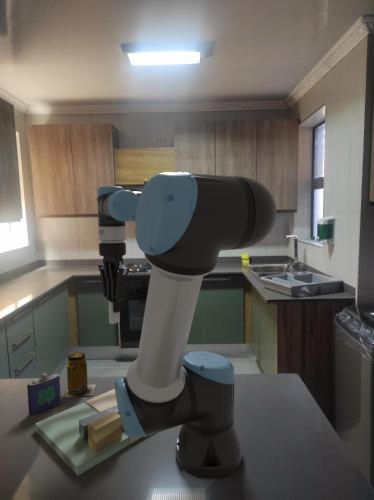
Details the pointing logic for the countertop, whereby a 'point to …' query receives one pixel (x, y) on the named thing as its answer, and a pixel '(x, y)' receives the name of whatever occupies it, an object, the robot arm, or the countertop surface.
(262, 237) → the robot arm
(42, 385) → the flask
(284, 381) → the countertop surface
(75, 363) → the condiment
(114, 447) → the two-tone base plate
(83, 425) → the latch bar
